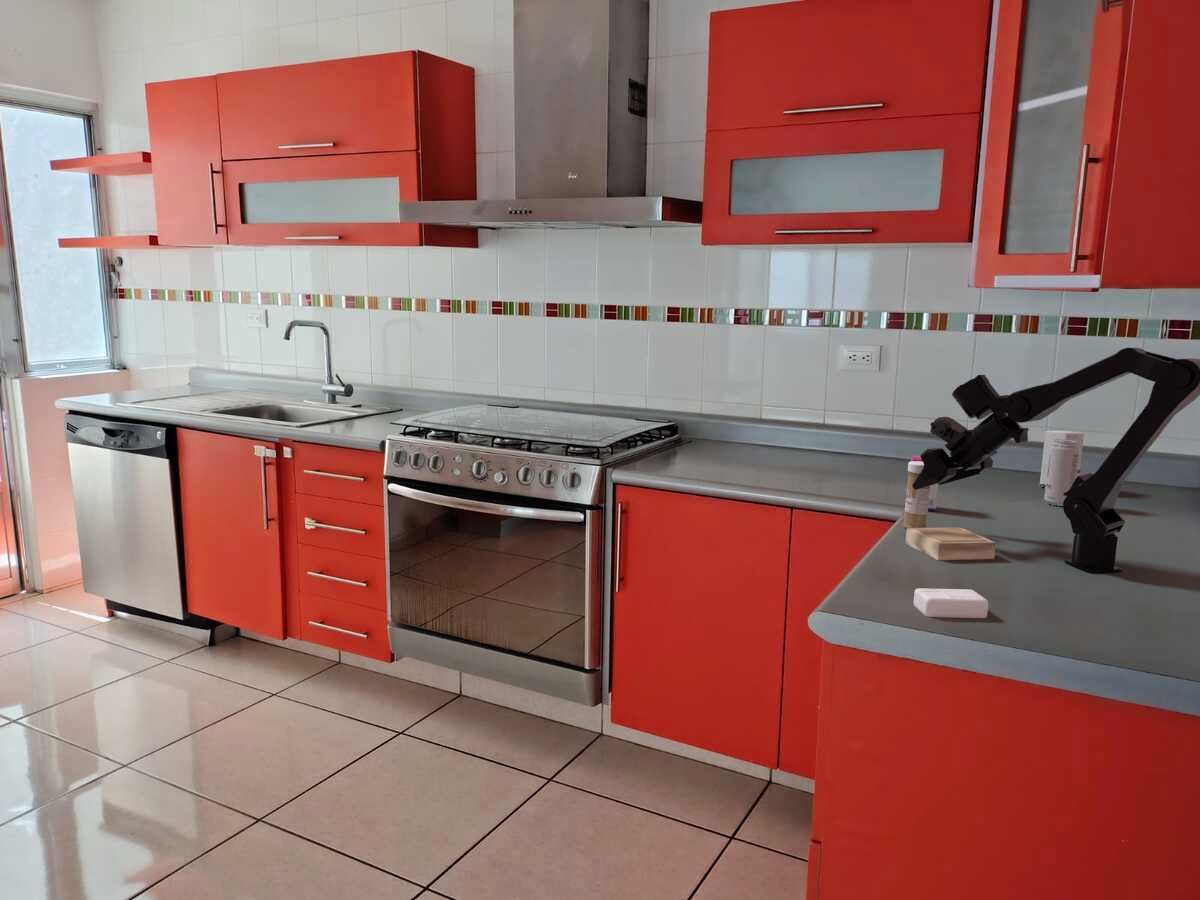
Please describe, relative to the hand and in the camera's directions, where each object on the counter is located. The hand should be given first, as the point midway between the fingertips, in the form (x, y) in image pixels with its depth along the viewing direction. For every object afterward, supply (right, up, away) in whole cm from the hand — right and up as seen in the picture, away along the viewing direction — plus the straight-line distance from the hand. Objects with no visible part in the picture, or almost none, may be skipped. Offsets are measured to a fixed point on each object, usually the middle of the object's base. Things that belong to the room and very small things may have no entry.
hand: (926, 485), depth 177 cm
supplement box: (+7, -6, +22) cm, 24 cm away
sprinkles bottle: (-1, -9, +3) cm, 9 cm away
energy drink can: (+42, -6, +31) cm, 53 cm away
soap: (-14, -17, -48) cm, 53 cm away
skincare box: (+52, -3, +51) cm, 73 cm away
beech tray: (-1, -11, -14) cm, 18 cm away
